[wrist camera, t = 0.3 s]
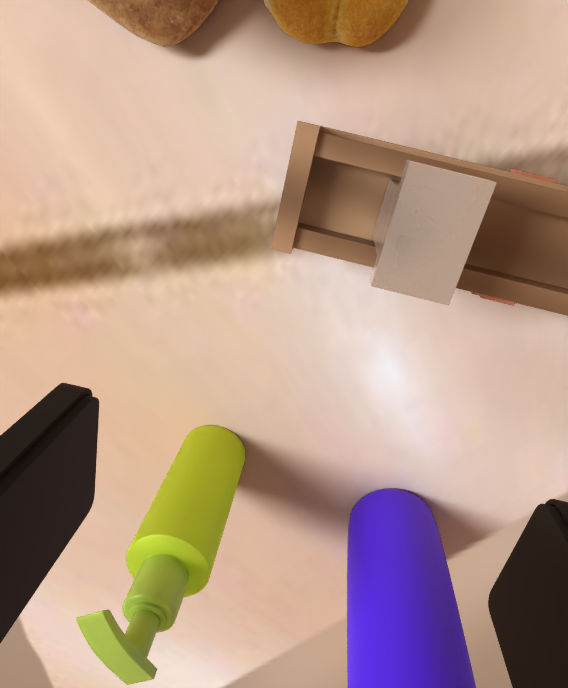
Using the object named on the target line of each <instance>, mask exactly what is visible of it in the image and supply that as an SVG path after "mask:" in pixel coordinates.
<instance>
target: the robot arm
mask: <svg viewBox="0 0 568 688" xmlns="http://www.w3.org/2000/svg"><path fill="white" fill-rule="evenodd" d="M98 416H99V400H98V398H95V397H92V392H91V390H90V389H88V388H84V387H79V386H75V385H71V384H67V383H61V384H60V385H58V386H57V387H56V388H55V389H53V390H52V391H51V392H50V393H49V394H48V395H47V396H45V397H44V398H43V399H42V400H41V401H40V402H39V403H37V404H36V405H35V406H34V407H33V408H32V409H31V410H29V411H28V412H27V413H26V414H25V415H24V416H23V417H21V418H20V419H19V420H18V421H17V422H16V423H15V424H13V425H12V426H11V427H10V428H9V429H8V430H7V431H5V432H4V433H3V434H2V435H0V643H1V641H2V640H3V639H4V637H5V636H6V634H7V632H8V631H9V630H10V628H11V627H12V625H13V624H14V622H15V621H16V619H17V618H18V616H19V615H20V613H21V612H22V610H23V609H24V608H25V606H26V605H27V603H28V602H29V600H30V599H31V597H32V596H33V594H34V593H35V591H36V590H37V588H38V587H39V585H40V584H41V582H42V581H43V579H44V578H45V576H46V575H47V573H48V572H49V571H50V569H51V568H52V566H53V565H54V563H55V562H56V560H57V559H58V557H59V556H60V554H61V553H62V551H63V550H64V548H65V547H66V545H67V544H68V542H69V541H70V539H71V538H72V537H73V535H74V534H75V532H76V531H77V529H78V528H79V526H80V525H81V523H82V522H83V520H84V519H85V517H86V516H87V514H88V513H89V511H90V509H91V506H92V504H93V500H94V493H95V474H96V455H97V435H98ZM488 605H489V611H490V615H491V618H492V622H493V625H494V628H495V631H496V635H497V638H498V641H499V644H500V647H501V651H502V654H503V657H504V661H505V664H506V667H507V670H508V673H509V677H510V680H511V683H512V686H513V688H568V502H564V501H560V500H556V499H550V500H549V501H547V502H546V503H545V504H540V505H538V506H537V507H536V509H535V511H534V512H533V514H532V516H531V518H530V520H529V522H528V523H527V525H526V527H525V529H524V531H523V533H522V535H521V536H520V538H519V540H518V542H517V544H516V546H515V547H514V549H513V551H512V553H511V555H510V557H509V558H508V560H507V562H506V564H505V566H504V568H503V570H502V571H501V573H500V575H499V577H498V579H497V581H496V582H495V584H494V586H493V588H492V590H491V592H490V595H489V601H488Z"/></svg>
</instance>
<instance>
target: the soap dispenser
mask: <svg viewBox="0 0 568 688" xmlns="http://www.w3.org/2000/svg"><path fill="white" fill-rule="evenodd" d="M244 462H245V449H244V446H243V444H242V442H241V441H240V439H239V438H238V437H237V436H236V435H235V434H234V433H232V432H231V431H229V430H227V429H225V428H223V427H220V426H214V425H206V426H201V427H198V428H196V429H194V430H193V431H191V432H190V433H189V434H188V435H187V437H186V439H185V440H184V442H183V444H182V446H181V448H180V450H179V452H178V454H177V456H176V458H175V460H174V462H173V464H172V466H171V468H170V470H169V471H168V473H167V475H166V477H165V479H164V481H163V483H162V485H161V487H160V489H159V491H158V493H157V495H156V497H155V499H154V501H153V502H152V504H151V506H150V508H149V510H148V512H147V514H146V516H145V518H144V520H143V522H142V524H141V526H140V528H139V530H138V532H137V533H136V535H135V537H134V539H133V541H132V543H131V545H130V547H129V549H128V551H127V555H126V563H127V567H128V569H129V572H130V573H131V575H132V576H133V578H134V579H135V580H134V582H133V584H132V586H131V588H130V590H129V592H128V595H127V597H126V599H125V601H124V604H123V613H124V616H125V617H126V619H127V620H128V621H129V622H130V624H129V626H128V628H127V630H126V633H125V634H124V633H123V632H122V630H121V629H120V627H119V626H118V624H117V622H116V621H115V619H114V617H113V615H112V613H111V612H110V610H103V611H99V612H96V613H92V614H88V615H85V616H81V617H78V618H77V619H76V620H77V623H78V625H79V627H80V629H81V631H82V633H83V635H84V637H85V639H86V641H87V642H88V644H89V645H90V647H91V648H92V650H93V651H94V653H95V654H96V655H97V656H98V658H99V659H100V660H101V661H102V662H103V663H104V664H105V665H106V666H107V667H108V668H109V669H110V670H111V671H112V672H113V673H114V674H115V675H116V676H118V677H119V678H120V679H121V680H122V681H123V682H125V683H126V684H127V685H129V684H133V683H138V682H143V681H147V680H152V679H154V677H155V674H156V671H157V668H156V667H155V666H154V665H153V664H152V663H151V662H150V661H149V660H148V659H147V656H148V653H149V650H150V648H151V645H152V642H153V640H154V637H155V634H156V632H162V631H165V630H167V629H169V628H170V627H172V625H173V624H174V622H175V619H176V617H177V614H178V611H179V608H180V605H181V602H182V599H183V597H187V596H191V595H194V594H196V593H198V592H199V591H201V590H202V589H203V588H204V587H205V586H206V584H207V582H208V580H209V577H210V574H211V570H212V567H213V564H214V560H215V557H216V554H217V550H218V547H219V544H220V541H221V537H222V534H223V531H224V527H225V524H226V521H227V518H228V514H229V511H230V508H231V504H232V501H233V498H234V494H235V491H236V488H237V485H238V481H239V478H240V475H241V471H242V468H243V465H244Z"/></svg>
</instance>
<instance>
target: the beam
mask: <svg viewBox="0 0 568 688" xmlns="http://www.w3.org/2000/svg"><path fill="white" fill-rule="evenodd" d="M407 160H409V161H413V162H417V163H421V164H426V165H430V166H434V167H438V168H442V169H446V170H450V171H454V172H458V173H462V174H467V175H471V176H475V177H479V178H483V179H487V180H491V181H493V182H496V186H495V188H494V191H493V194H492V196H491V199H490V201H489V204H488V206H487V209H486V212H485V214H484V217H483V219H482V222H481V224H480V227H479V229H478V232H477V235H476V237H475V240H474V242H473V245H472V247H471V250H470V252H469V255H468V258H467V260H466V263H465V265H464V268H463V270H462V273H461V276H460V278H459V281H458V283H457V286H456V288H459V289H463V290H467V291H471V293H472V294H475V295H479V296H480V297H481V298H485V299H489V300H493V301H497V302H501V303H505V304H509V305H513V306H514V304H515V303H519V304H523V305H527V306H531V307H535V308H539V309H543V310H547V311H551V312H556V313H560V314H564V315H568V186H565V185H561V184H557V183H556V181H557V180H556V179H552V178H548V177H544V176H540V175H536V174H532V173H528V172H523V171H519V170H515V169H511V170H510V172H508V171H504V170H500V169H496V168H491V167H487V166H483V165H479V164H475V163H471V162H467V161H463V160H459V159H454V158H450V157H446V156H442V155H438V154H434V153H430V152H426V151H422V150H417V149H413V148H409V147H405V146H401V145H397V144H393V143H389V142H385V141H381V140H376V139H372V138H368V137H364V136H360V135H356V134H352V133H348V132H344V131H339V130H335V129H331V128H327V127H323V126H318V125H314V124H310V123H306V122H301V121H298V122H297V127H296V132H295V136H294V141H293V146H292V151H291V155H290V160H289V165H288V170H287V174H286V179H285V184H284V189H283V193H282V198H281V203H280V208H279V212H278V217H277V222H276V227H275V231H274V236H273V241H272V246H271V249H273V250H277V251H281V252H285V253H289V254H291V252H292V249H293V248H297V249H301V250H305V251H309V252H313V253H317V254H321V255H325V256H329V257H333V258H337V259H341V260H345V261H349V262H353V263H358V264H362V265H366V266H370V267H374V264H375V261H376V258H377V252H376V248H375V244H374V240H373V236H372V235H373V232H374V229H375V225H376V222H377V219H378V215H379V212H380V209H381V205H382V202H383V199H384V195H385V192H386V188H387V185H388V182H389V178H391V179H395V180H399V181H400V180H401V177H402V174H403V170H404V167H405V164H406V161H407Z"/></svg>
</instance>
